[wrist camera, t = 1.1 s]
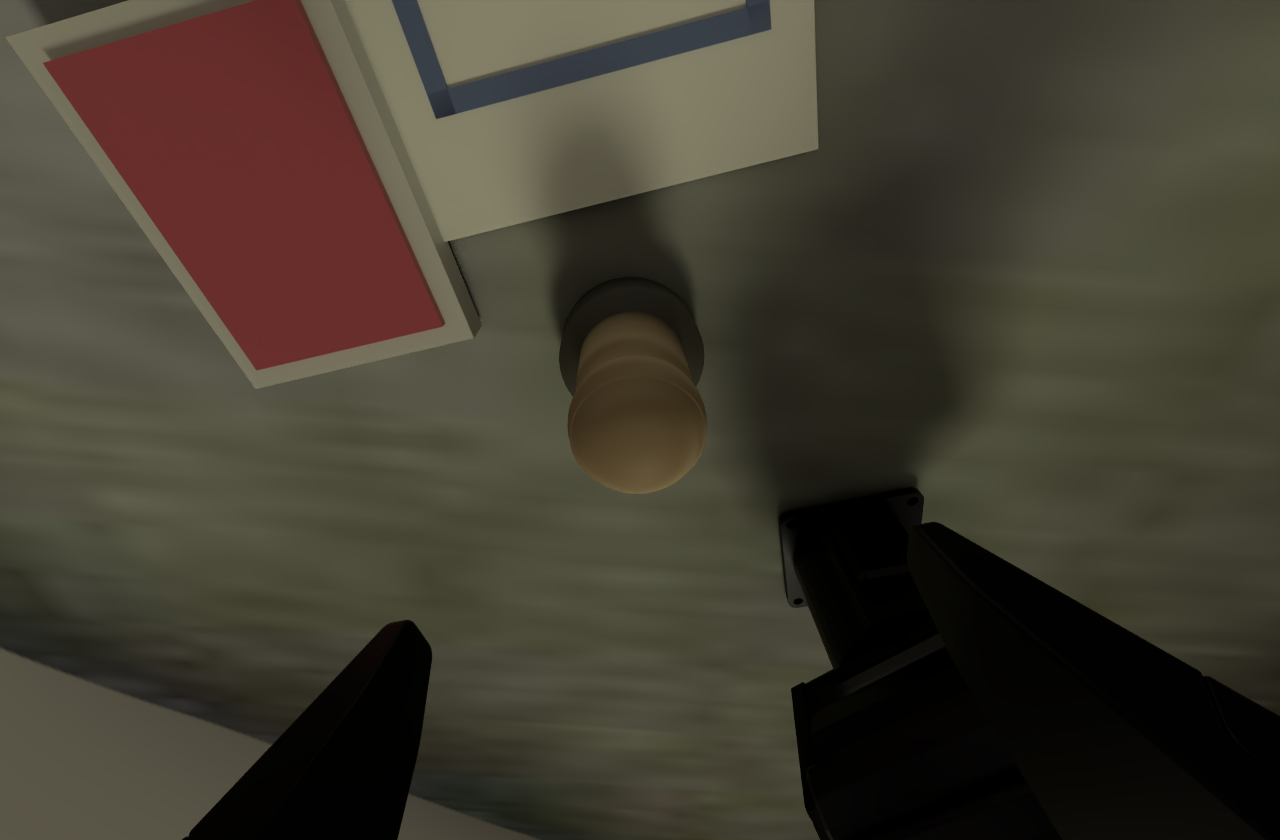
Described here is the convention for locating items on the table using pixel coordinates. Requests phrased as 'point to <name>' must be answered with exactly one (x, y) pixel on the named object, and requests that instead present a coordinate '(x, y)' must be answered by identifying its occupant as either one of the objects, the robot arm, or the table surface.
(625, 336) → the stamp
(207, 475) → the table surface
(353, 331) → the ink pad
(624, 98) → the paper
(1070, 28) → the table surface
